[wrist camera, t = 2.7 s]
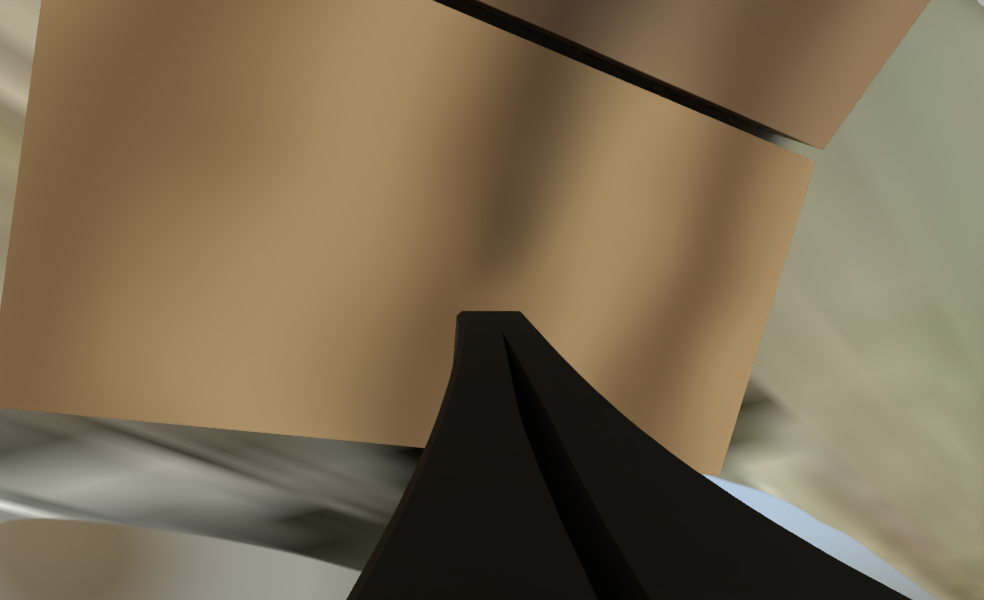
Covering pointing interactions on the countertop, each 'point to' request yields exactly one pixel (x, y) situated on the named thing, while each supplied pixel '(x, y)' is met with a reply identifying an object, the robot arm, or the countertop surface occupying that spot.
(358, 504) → the countertop surface
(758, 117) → the walnut plank
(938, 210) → the countertop surface
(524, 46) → the oak plank
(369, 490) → the countertop surface
